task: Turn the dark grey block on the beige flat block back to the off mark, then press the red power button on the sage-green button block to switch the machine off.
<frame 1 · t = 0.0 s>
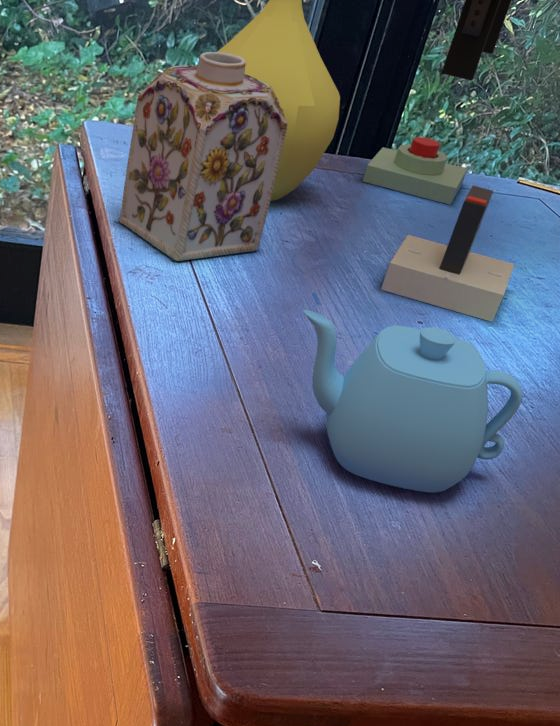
hand: (468, 63, 92), 22 cm above the table, tool pointing down, fingers open, 13 cm apart
beige flat block: (443, 290, 109), on the table
teapot: (377, 455, 81), on the table
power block: (412, 183, 136), on the table
dark grey block: (466, 228, 104), point 7 cm above the table, hinge at 90.0°
vase: (244, 189, 126), on the table
power button: (424, 148, 133), point 5 cm above the table, slide at 0.2 cm
decorative jar: (187, 239, 111), on the table
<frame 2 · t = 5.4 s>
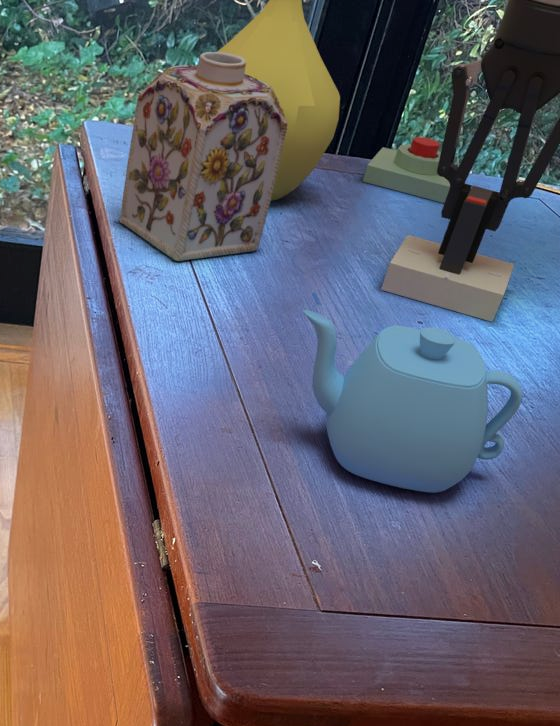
hand: (457, 253, 106), 4 cm above the table, tool pointing down, fingers closed on dark grey block, 2 cm apart
dark grey block: (466, 228, 104), point 7 cm above the table, hinge at 90.1°, touching gripper
everything else where it was.
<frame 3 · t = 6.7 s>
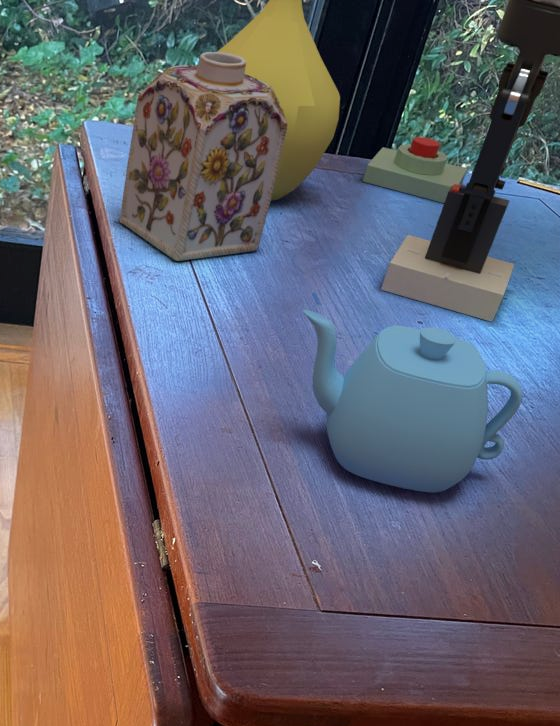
hand: (456, 254, 106), 4 cm above the table, tool pointing down, fingers closed on dark grey block, 2 cm apart
dark grey block: (466, 228, 104), point 7 cm above the table, hinge at 0.1°, touching gripper
everything else where it was.
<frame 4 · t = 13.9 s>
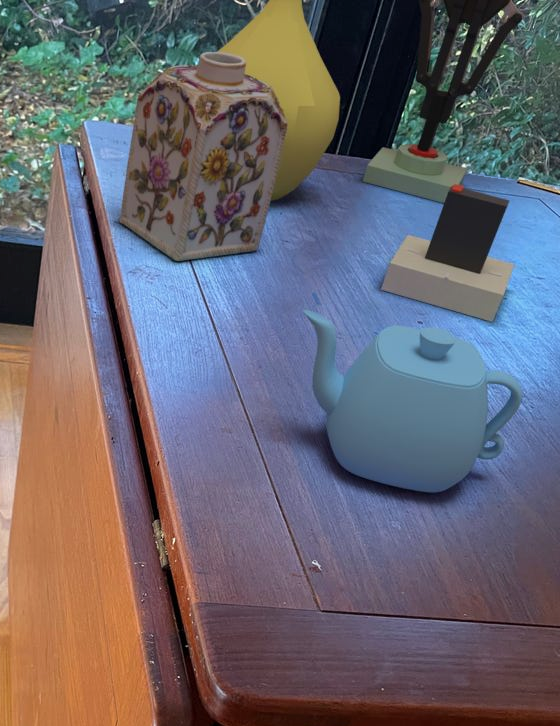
hand: (424, 146, 132), 5 cm above the table, tool pointing down, fingers closed
dark grey block: (466, 228, 104), point 7 cm above the table, hinge at -0.1°
power button: (421, 155, 133), point 4 cm above the table, slide at -0.8 cm, touching gripper
everything else where it was.
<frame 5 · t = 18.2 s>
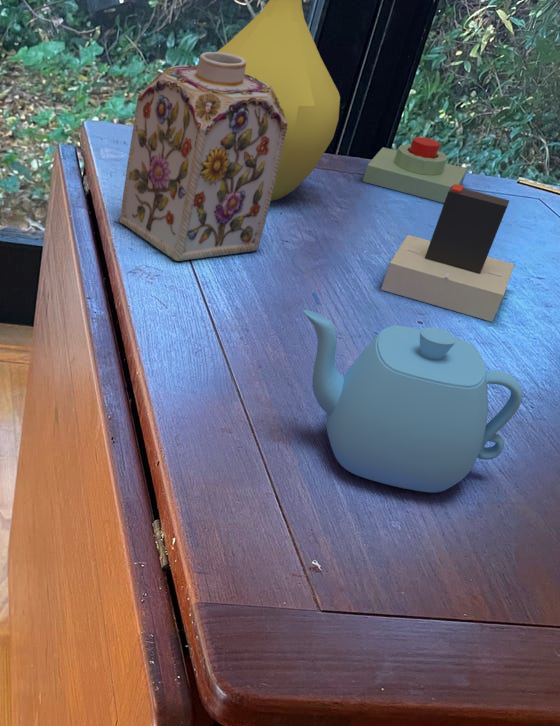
power button: (424, 148, 133), point 5 cm above the table, slide at 0.1 cm
everything else where it was.
at the end: dark grey block at +0° (first picture: +90°); power button pushed in 1.0 cm at the most during the clip, back to where it started at the end; power button slide at 0.1 cm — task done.
